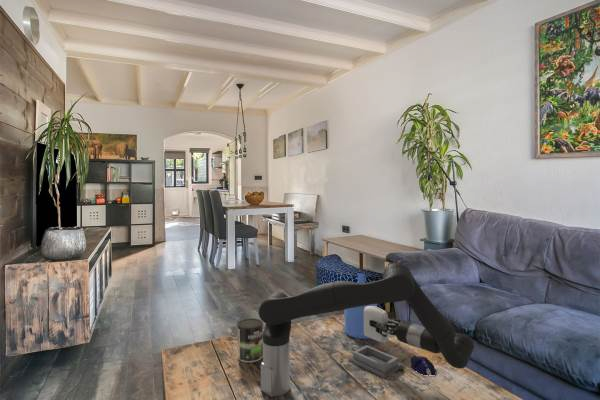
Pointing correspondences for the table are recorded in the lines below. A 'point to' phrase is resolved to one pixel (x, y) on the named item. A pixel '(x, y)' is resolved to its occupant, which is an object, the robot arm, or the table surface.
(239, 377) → the table surface
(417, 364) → the computer mouse
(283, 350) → the robot arm
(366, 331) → the photo printer
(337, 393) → the table surface
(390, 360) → the dock
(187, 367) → the table surface
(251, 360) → the coffee can
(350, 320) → the water jug
